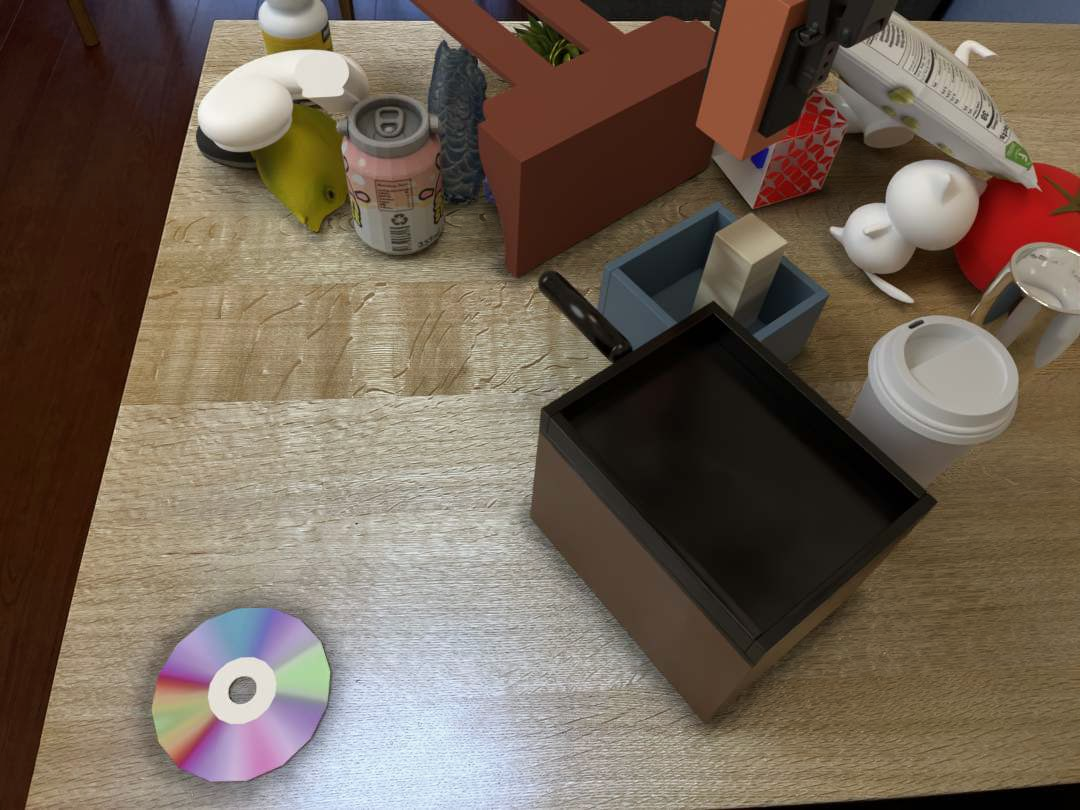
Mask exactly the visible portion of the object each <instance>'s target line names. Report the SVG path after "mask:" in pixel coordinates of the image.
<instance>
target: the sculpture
mask: <svg viewBox="0 0 1080 810" xmlns="http://www.w3.org/2000/svg"><path fill="white" fill-rule="evenodd" d="M370 95H371V85H370V81H369V78H368V75H367V74H366V72H365V70H364V69H363V68H362V66H361V65H360V64H359V63H358V62H357V61H355V60H354V59H352V58H350V57H348V56H346V55H344V54H343V53H339V52H335V51H333V52H331V51H325V50H293V51H286V52H280V53H276V54H272V55H268V56H267V55H265V56H262V57H259V58H256V59H253V60H250V61H249V62H246V63H244V64H242V65H240V66H239V67H237V68H236V69H234V70H232V71H231V72H229V73H228V74H227V75H225V76H223V78H222V79H220V80H219V81H218V82H217V83H216V84H215V85H214V86H213V87H212V88H210V90H209V91H208V92H207V93H206V94H205V96H204V97H203V98H202V99H201V101H200V103H199V106H198V109H197V122H198V126H199V125H200V128H201V130H202V131H203V133H204V134H205V135H206V136H207V137H208V138H210V139H211V140H213V141H214V142H215V144H216V145H217V146H219V147H220V148H222V149H224V150H227V151H232V152H248V151H254V150H258V149H261V148H264V147H266V146H268V145H271V144H272V143H274V142H276V141H277V140H279V139H280V138H281V137H282V136H283V135H284V134H285V133H286V132H287V131H288V129H289V128H290V126H291V123H292V110H293V101H292V100H298V99H309V100H311V101H313V102H314V103H316V104H315V105H318V106H320V107H321V108H322V109H323V110H325V111H326V112H328V113H349V112H350V111H351V109H352V108H353V107H354V106H355V105H356V104H357V103H359V102H360V101H362V100H364V99H366V98H369V97H370Z"/></svg>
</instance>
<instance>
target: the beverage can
mask: <svg viewBox="0 0 1080 810" xmlns="http://www.w3.org/2000/svg"><path fill="white" fill-rule="evenodd" d="M336 123H337V126H336V128H337V131H338V132H339V133H340V136H344V138H343V142H342V146H341V148H342V154H343V160H344V166H345V172H346V178H347V184H348V190H349V194H348V196H349V200H350V208H351V213H352V219H353V225H354V229H355V232H356V233H357V235H358V236H359V238H360V239H361V241H362V242H363V243H364V244H365V245H366V246H368V247H370V248H371V249H372V250H375V251H377V252H381V253H383V254H387V255H393V256H405V255H412V254H415V253H417V252H420V251H423V250H425V249H426V248H428V247H429V246H431V245H432V244H433V243H434V242H436V241H437V239H438V238H439V236H440V235H441V234H442V231H443V229H444V225H445V220H446V216H445V201H444V192H443V171H442V151H441V142H440V139H439V136H438V134H439V130H440V129H441V127H442V124H441V121H440V120H439V119H438V117H437V116H435V115H433V114H429V112H428V108H427V107H425V105H424V104H423V103H422V102H420V101H418V100H416V99H415V98H414V97H410V96H407V95H404V94H400V93H399V94H397V93H382V94H374V95H372V96H368V98H366V99H364V100H362V101H360V102H359V103H357V104H356V105H355V106H354V107H353V108H352V109H351V111H350V112H348V115H347V116H345V117H343V118H339V119H338V122H336Z"/></svg>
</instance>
